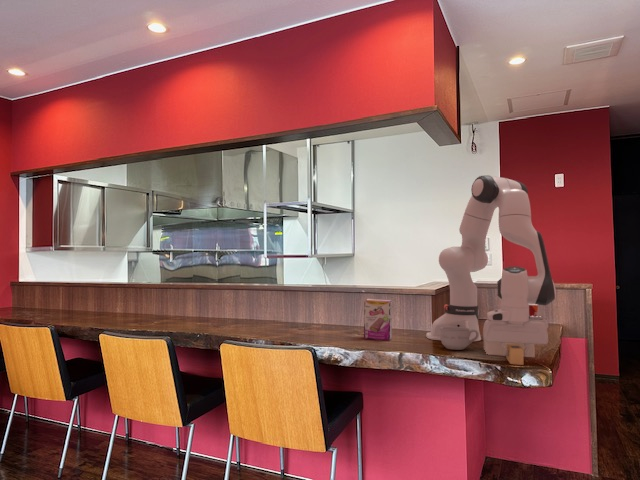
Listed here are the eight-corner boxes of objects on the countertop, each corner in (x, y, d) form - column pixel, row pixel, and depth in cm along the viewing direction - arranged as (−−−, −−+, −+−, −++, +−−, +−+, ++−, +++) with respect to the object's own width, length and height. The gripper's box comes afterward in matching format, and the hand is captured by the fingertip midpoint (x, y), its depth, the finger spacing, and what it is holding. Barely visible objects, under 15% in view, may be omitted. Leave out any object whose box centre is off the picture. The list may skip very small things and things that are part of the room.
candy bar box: (363, 339, 187) (363, 299, 188) (366, 337, 192) (366, 298, 193) (390, 341, 184) (390, 301, 184) (392, 338, 189) (392, 299, 189)
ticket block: (486, 354, 162) (486, 340, 162) (483, 349, 170) (483, 335, 171) (534, 357, 158) (534, 342, 158) (529, 351, 167) (529, 337, 167)
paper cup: (540, 333, 204) (540, 302, 204) (522, 332, 205) (522, 302, 205) (535, 330, 211) (535, 300, 212) (518, 329, 213) (518, 300, 213)
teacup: (438, 350, 168) (438, 328, 168) (441, 344, 178) (441, 324, 178) (478, 353, 163) (478, 331, 163) (479, 347, 173) (479, 326, 173)
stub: (510, 364, 148) (510, 348, 148) (506, 358, 156) (506, 343, 156) (523, 364, 147) (523, 349, 147) (518, 359, 155) (518, 344, 155)
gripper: (545, 315, 152) (545, 355, 152) (482, 312, 157) (482, 352, 157) (550, 317, 146) (550, 360, 146) (484, 315, 151) (484, 356, 151)
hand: (514, 356), depth 152 cm, fingers closed on stub, 4 cm apart
